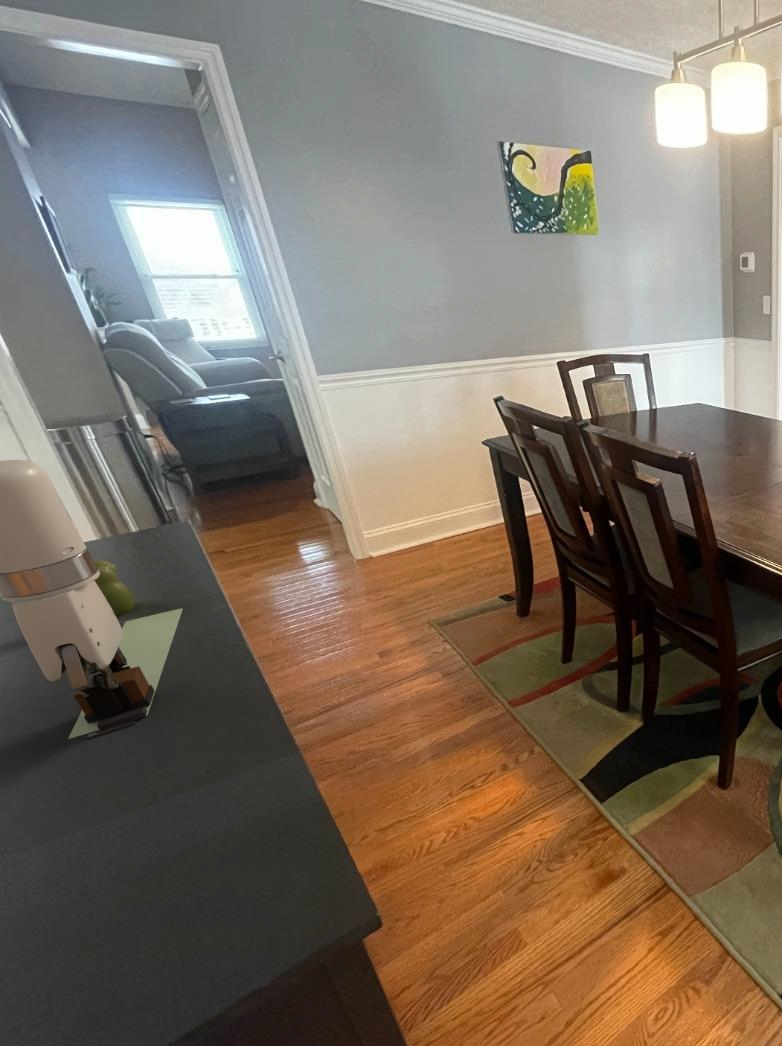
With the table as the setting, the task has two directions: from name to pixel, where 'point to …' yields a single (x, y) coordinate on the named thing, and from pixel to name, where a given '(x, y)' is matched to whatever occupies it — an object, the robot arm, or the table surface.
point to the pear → (113, 588)
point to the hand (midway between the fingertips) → (121, 705)
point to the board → (142, 653)
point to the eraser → (134, 687)
